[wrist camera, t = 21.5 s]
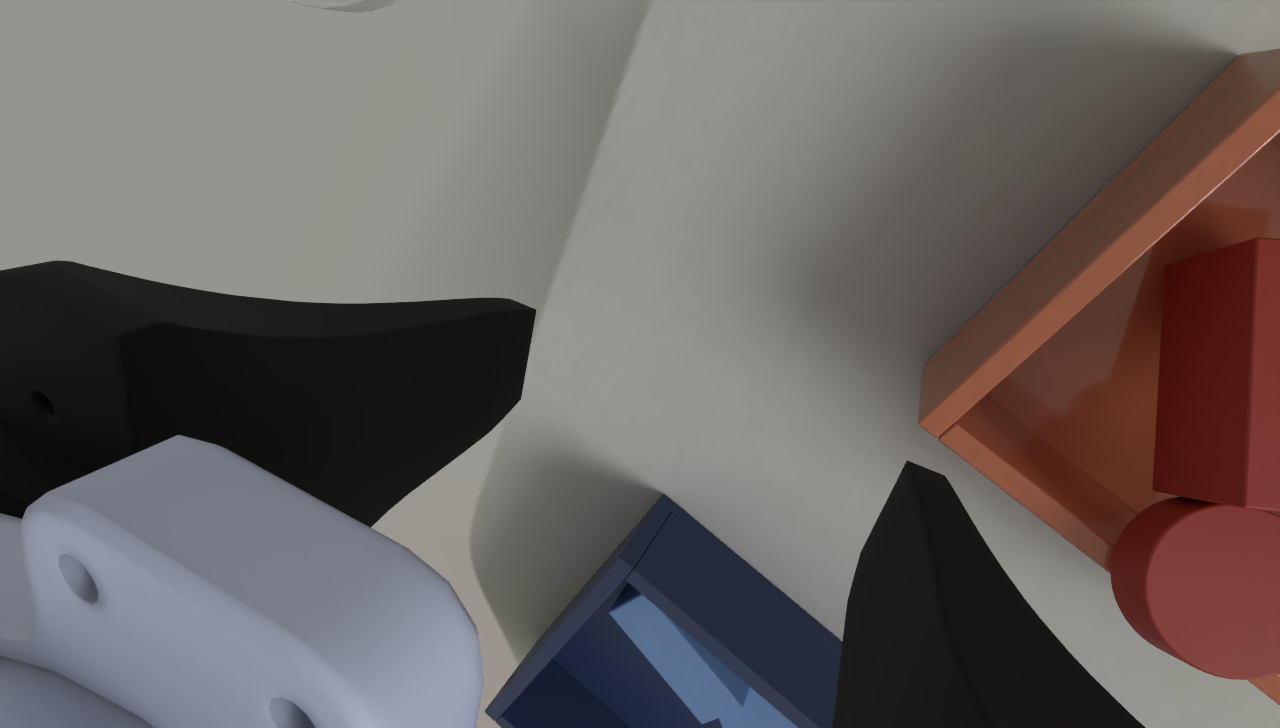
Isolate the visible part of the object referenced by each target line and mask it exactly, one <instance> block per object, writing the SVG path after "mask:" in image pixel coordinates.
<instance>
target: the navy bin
mask: <svg viewBox="0 0 1280 728" xmlns="http://www.w3.org/2000/svg"><path fill="white" fill-rule="evenodd" d="M627 583H629V584H631V585H632V586H633V587H634V588H635V589H636V590H638V591H639V592H640V593H641V594H642V595H643V596H645V597H646V598H647V599H648V600H649V601H650V602H652V603H653V604H654V605H655V606H656V607H658V608H659V609H660V610H661V611H662V612H663V613H665V614H666V615H667V616H668V617H669V618H670V619H672V620H673V621H674V622H675V623H676V624H677V625H679V626H680V627H681V628H682V629H683V630H684V631H686V632H687V633H688V634H689V635H690V636H691V637H693V638H694V639H695V640H696V641H697V642H698V643H700V644H701V645H702V646H703V647H704V648H705V649H707V650H708V651H709V652H710V653H711V654H712V655H714V656H715V657H716V658H717V659H718V660H719V661H721V662H722V663H723V664H724V665H725V666H726V667H728V668H729V669H730V670H731V671H732V672H733V673H735V674H736V675H737V676H738V677H739V678H740V679H742V680H743V681H744V682H745V683H746V684H747V685H749V686H750V687H751V688H752V689H753V690H754V691H756V692H757V693H758V694H759V695H760V696H761V697H763V698H764V699H765V700H766V701H767V702H768V703H770V704H771V705H772V706H773V707H774V708H775V709H777V710H778V711H779V712H780V713H781V714H782V715H784V716H785V717H786V718H787V719H788V720H790V721H791V722H792V723H793V724H794V725H795V726H797V727H798V728H832V725H833V719H834V711H835V703H836V694H837V686H838V677H839V669H840V660H841V651H842V642H841V641H840V640H839V639H838V638H836V637H835V636H834V635H833V634H832V633H830V632H829V631H828V630H827V629H826V628H824V627H823V626H822V625H821V624H820V623H818V622H817V621H816V620H815V619H814V618H812V617H811V616H810V615H809V614H808V613H806V612H805V611H804V610H803V609H801V608H800V607H799V606H798V605H797V604H795V603H794V602H793V601H792V600H791V599H789V598H788V597H787V596H786V595H785V594H783V593H782V592H781V591H780V590H779V589H777V588H776V587H775V586H774V585H773V584H771V583H770V582H769V581H768V580H767V579H765V578H764V577H763V576H762V575H761V574H759V573H758V572H757V571H756V570H755V569H753V568H752V567H751V566H750V565H749V564H747V563H746V562H745V561H744V560H743V559H741V558H740V557H739V556H738V555H737V554H735V553H734V552H733V551H732V550H731V549H729V548H728V547H727V546H726V545H725V544H723V543H722V542H721V541H720V540H719V539H717V538H716V537H715V536H714V535H713V534H711V533H710V532H709V531H708V530H707V529H705V528H704V527H703V526H702V525H701V524H699V523H698V522H697V521H696V520H695V519H693V518H692V517H691V516H690V515H689V514H687V513H686V512H685V511H684V510H682V509H681V508H680V507H679V506H678V505H676V504H675V503H674V502H673V501H672V500H670V499H669V498H668V497H667V496H666V495H662V496H661V497H660V499H659V500H658V501H657V502H656V503H655V504H654V506H653V507H652V508H651V509H650V510H649V511H648V513H647V514H646V515H645V516H644V517H643V518H642V520H641V521H640V522H639V523H638V524H637V525H636V527H635V528H634V529H633V530H632V531H631V532H630V534H629V535H628V536H627V537H626V538H625V539H624V541H623V542H622V543H621V544H620V545H619V546H618V548H617V549H616V550H615V551H614V552H613V553H612V555H611V556H610V557H609V558H608V559H607V561H606V562H605V563H604V564H603V565H602V566H601V568H600V569H599V570H598V571H597V572H596V573H595V575H594V576H593V577H592V578H591V579H590V580H589V582H588V583H587V584H586V585H585V586H584V587H583V589H582V590H581V591H580V592H579V593H578V594H577V596H576V597H575V598H574V599H573V600H572V601H571V603H570V604H569V605H568V606H567V607H566V608H565V610H564V611H563V612H562V613H561V614H560V615H559V617H558V618H557V619H556V620H555V621H554V622H553V624H552V625H551V626H550V627H549V628H548V629H547V631H546V632H545V633H544V634H543V635H542V636H541V638H540V639H539V640H538V641H537V642H536V643H535V645H534V646H533V647H532V649H531V650H530V651H529V653H528V654H527V655H526V657H525V658H524V659H523V661H522V662H521V663H520V665H519V666H518V667H517V669H516V670H515V671H514V673H513V674H512V675H511V677H510V678H509V679H508V681H507V682H506V683H505V685H504V686H503V687H502V689H501V690H500V691H499V693H498V694H497V695H496V697H495V698H494V699H493V701H492V702H491V703H490V704H489V706H488V707H487V709H486V710H485V713H486V714H487V715H488V716H490V717H491V718H492V719H493V720H494V721H496V723H497V724H498V725H499V726H500V727H501V728H722V726H721V723H720V721H719V718H717V719H715V720H712V721H709V722H707V723H704V724H702V723H700V722H699V720H698V719H697V718H696V717H695V716H694V714H693V713H692V712H691V711H690V710H689V708H688V707H687V706H686V705H685V704H684V702H683V701H682V700H681V699H680V698H679V696H678V695H677V694H676V693H675V692H674V690H673V689H672V688H671V687H670V686H669V684H668V683H667V682H666V681H665V680H664V679H663V677H662V676H661V675H660V674H659V673H658V671H657V670H656V669H655V668H654V667H653V665H652V664H651V663H650V662H649V661H648V659H647V658H646V657H645V656H644V655H643V653H642V652H641V651H640V650H639V649H638V647H637V646H636V645H635V644H634V643H633V641H632V640H631V639H630V638H629V637H628V635H627V634H626V633H625V632H624V631H623V629H622V628H621V627H620V626H619V625H618V623H617V622H616V621H615V620H614V619H613V617H612V616H611V615H610V614H609V610H610V609H611V607H612V606H613V604H614V603H615V601H616V600H617V598H618V597H619V595H620V594H621V592H622V591H623V589H624V588H625V586H626V585H627Z"/></svg>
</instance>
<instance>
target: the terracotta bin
mask: <svg viewBox="0 0 1280 728" xmlns="http://www.w3.org/2000/svg"><path fill="white" fill-rule="evenodd" d="M1257 237H1261V238H1275V239H1280V48H1279V49H1273V50H1266V51H1259V52H1253V53H1245V54H1241V55H1239V56H1238V57H1237V58H1236V59H1235V60H1234V61H1233V62H1232V63H1231V64H1230V65H1229V66H1228V67H1227V68H1226V69H1225V70H1224V71H1223V72H1222V73H1221V74H1219V75H1218V76H1217V77H1216V78H1215V79H1214V80H1213V81H1212V82H1211V83H1210V84H1209V85H1208V86H1207V87H1206V88H1205V89H1204V90H1203V91H1202V92H1201V93H1200V94H1199V95H1198V96H1197V97H1196V98H1195V99H1194V100H1193V101H1192V102H1191V103H1190V104H1189V105H1188V106H1187V107H1186V108H1185V109H1184V110H1183V111H1182V112H1181V113H1180V114H1179V115H1178V116H1177V117H1176V118H1175V119H1174V120H1173V121H1172V122H1171V123H1170V124H1169V125H1168V126H1167V127H1166V128H1165V129H1163V130H1162V131H1161V132H1160V133H1159V134H1158V135H1157V136H1156V137H1155V138H1154V139H1153V140H1152V141H1151V142H1150V143H1149V144H1148V145H1147V146H1146V147H1145V148H1144V149H1143V150H1142V151H1141V152H1140V153H1139V154H1138V155H1137V156H1136V157H1135V158H1134V159H1133V160H1132V161H1131V162H1130V163H1129V164H1128V165H1127V166H1126V167H1125V168H1124V169H1123V170H1122V171H1121V172H1120V173H1119V174H1118V175H1117V176H1116V177H1115V178H1114V179H1113V180H1112V181H1111V182H1110V183H1109V184H1107V185H1106V186H1105V187H1104V188H1103V189H1102V190H1101V191H1100V192H1099V193H1098V194H1097V195H1096V196H1095V197H1094V198H1093V199H1092V200H1091V201H1090V202H1089V203H1088V204H1087V205H1086V206H1085V207H1084V208H1083V209H1082V210H1081V211H1080V212H1079V213H1078V214H1077V215H1076V216H1075V217H1074V218H1073V219H1072V220H1071V221H1070V222H1069V223H1068V224H1067V225H1066V226H1065V227H1064V228H1063V229H1062V230H1061V231H1060V232H1059V233H1058V234H1057V235H1056V236H1055V237H1054V238H1053V239H1051V240H1050V241H1049V242H1048V243H1047V244H1046V245H1045V246H1044V247H1043V248H1042V249H1041V250H1040V251H1039V252H1038V253H1037V254H1036V255H1035V256H1034V257H1033V258H1032V259H1031V260H1030V261H1029V262H1028V263H1027V264H1026V265H1025V266H1024V267H1023V268H1022V269H1021V270H1020V271H1019V272H1018V273H1017V274H1016V275H1015V276H1014V277H1013V278H1012V279H1011V280H1010V281H1009V282H1008V283H1007V284H1006V285H1005V286H1004V287H1003V288H1002V289H1001V290H1000V291H999V292H998V293H997V294H995V295H994V296H993V297H992V298H991V299H990V300H989V301H988V302H987V303H986V304H985V305H984V306H983V307H982V308H981V309H980V310H979V311H978V312H977V313H976V314H975V315H974V316H973V317H972V318H971V319H970V320H969V321H968V322H967V323H966V324H965V325H964V326H963V327H962V328H961V329H960V330H959V331H958V332H957V333H956V334H955V335H954V336H953V337H952V338H951V339H950V340H949V341H948V342H947V343H946V344H945V345H944V346H943V347H942V348H941V349H939V350H938V351H937V352H936V353H935V354H934V355H933V356H932V357H931V358H930V359H929V360H928V361H927V362H926V363H925V364H924V365H923V367H922V378H921V389H920V401H919V412H918V424H919V425H920V426H921V427H922V428H924V429H925V430H926V431H928V432H929V433H930V434H931V435H933V436H934V437H936V438H937V437H938V439H939V441H941V442H942V443H943V444H944V445H946V446H947V447H948V448H950V449H951V450H952V451H953V452H955V453H956V454H957V455H959V456H960V457H961V458H962V459H964V460H965V461H966V462H968V463H969V464H970V465H971V466H973V467H974V468H975V469H977V470H978V471H979V472H980V473H982V474H983V475H984V476H986V477H987V478H988V479H989V480H991V481H992V482H993V483H995V484H996V485H997V486H998V487H1000V488H1001V489H1002V490H1004V491H1005V492H1006V493H1007V494H1009V495H1010V496H1011V497H1013V498H1014V499H1015V500H1016V501H1018V502H1019V503H1020V504H1022V505H1023V506H1024V507H1025V508H1027V509H1028V510H1029V511H1031V512H1032V513H1033V514H1034V515H1036V516H1037V517H1038V518H1040V519H1041V520H1042V521H1043V522H1045V523H1046V524H1047V525H1049V526H1050V527H1051V528H1052V529H1054V530H1055V531H1056V532H1058V533H1059V534H1060V535H1061V536H1063V537H1064V538H1065V539H1067V540H1068V541H1069V542H1070V543H1072V544H1073V545H1074V546H1076V547H1077V548H1078V549H1079V550H1081V551H1082V552H1083V553H1085V554H1086V555H1087V556H1088V557H1090V558H1091V559H1092V560H1094V561H1095V562H1096V563H1097V564H1099V565H1100V566H1101V567H1103V568H1104V569H1105V570H1106V571H1108V572H1109V573H1110V574H1111V560H1112V555H1113V551H1114V548H1115V545H1116V543H1117V540H1118V538H1119V536H1120V535H1121V533H1122V531H1123V530H1124V528H1125V527H1126V526H1127V525H1128V523H1129V522H1130V521H1131V520H1132V519H1133V518H1134V517H1135V516H1136V515H1137V514H1139V513H1140V512H1141V511H1143V510H1144V509H1146V508H1147V507H1149V506H1151V505H1153V504H1155V503H1157V502H1160V501H1163V500H1165V499H1169V498H1174V497H1178V496H1177V495H1172V494H1166V493H1161V492H1156V491H1154V490H1153V489H1152V487H1153V469H1154V450H1155V432H1156V413H1157V395H1158V376H1159V358H1160V340H1161V321H1162V303H1163V284H1164V267H1165V265H1167V264H1170V263H1174V262H1177V261H1180V260H1184V259H1187V258H1190V257H1194V256H1197V255H1200V254H1204V253H1207V252H1210V251H1214V250H1217V249H1220V248H1224V247H1227V246H1230V245H1234V244H1237V243H1240V242H1244V241H1247V240H1250V239H1254V238H1257ZM1270 512H1272V513H1274V514H1276V515H1278V516H1280V512H1277V511H1270ZM1247 680H1248V681H1249V682H1250V683H1252V684H1253V685H1254V686H1256V687H1257V688H1258V689H1259V690H1261V691H1262V692H1263V693H1265V694H1266V695H1267V696H1268V697H1270V698H1271V699H1272V700H1274V701H1275V702H1276V703H1277V704H1279V705H1280V673H1277V674H1274V675H1271V676H1268V677H1263V678H1258V679H1247Z"/></svg>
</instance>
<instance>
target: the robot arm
mask: <svg viewBox="0 0 1280 728" xmlns="http://www.w3.org/2000/svg"><path fill="white" fill-rule="evenodd" d="M535 315H536V309H533V308H531V307H528V306H526V305H524V304H521V303H519V302H516V301H514V300H511V299H505V298H468V299H451V300H436V301H420V302H396V303H368V304H333V303H309V302H293V301H282V300H273V299H264V298H253V297H245V296H236V295H228V294H222V293H215V292H209V291H202V290H197V289H191V288H186V287H180V286H174V285H169V284H164V283H159V282H154V281H150V280H145V279H141V278H137V277H133V276H128V275H124V274H120V273H115V272H111V271H107V270H103V269H99V268H94V267H90V266H86V265H83V264H79V263H75V262H70V261H50V262H45V263H39V264H34V265H28V266H23V267H17V268H12V269H7V270H1V271H0V728H476V721H477V716H478V711H479V705H480V700H481V694H482V689H483V684H484V677H483V669H482V662H481V655H480V646H479V638H478V632H477V629H476V625H475V624H474V622H473V620H472V619H471V617H470V615H469V614H468V612H467V611H466V609H465V607H464V606H463V604H462V602H461V601H460V599H459V597H458V596H457V594H456V593H455V591H454V589H453V588H452V586H451V584H450V583H449V582H448V581H447V580H446V579H445V578H444V577H442V576H441V575H440V574H439V573H438V572H436V571H435V570H434V569H433V568H431V567H430V566H429V565H428V564H427V563H425V562H424V561H423V560H422V559H420V558H419V557H418V556H416V555H415V554H414V553H413V552H412V551H411V550H409V549H408V548H406V547H405V546H403V545H401V544H399V543H397V542H395V541H393V540H392V539H390V538H388V537H386V536H385V535H383V534H381V533H379V532H377V531H375V530H374V529H372V528H371V527H372V526H373V525H374V524H375V523H376V522H377V521H378V520H379V519H380V518H381V517H382V516H383V515H384V514H385V513H386V512H387V511H388V510H390V509H391V508H392V507H393V506H394V505H395V504H397V503H398V502H399V501H400V500H402V499H403V498H404V497H405V496H406V495H408V494H409V493H410V492H411V491H413V490H414V489H416V488H417V487H418V486H419V485H421V484H422V483H423V482H425V481H426V480H427V479H429V478H430V477H431V476H433V475H434V474H435V473H437V472H438V471H439V470H441V469H442V468H443V467H444V466H446V465H447V464H449V463H450V462H451V461H453V460H454V459H455V458H457V457H458V456H459V455H461V454H462V453H463V452H465V451H466V450H467V449H468V448H470V447H471V446H472V445H474V444H475V443H476V442H477V441H479V440H480V439H481V438H482V437H484V436H485V435H486V434H488V433H489V432H490V431H491V430H492V429H493V428H494V427H495V426H496V425H497V424H498V423H499V422H500V421H501V420H502V419H503V418H504V417H505V416H506V415H507V414H508V413H509V412H510V411H511V409H512V408H513V407H514V406H515V405H516V404H517V403H518V402H519V401H520V400H521V395H522V390H523V384H524V378H525V372H526V367H527V361H528V355H529V349H530V344H531V338H532V332H533V326H534V320H535ZM832 728H1145V727H1144V726H1143V725H1142V724H1141V723H1140V722H1139V721H1138V720H1136V719H1135V718H1134V717H1133V716H1132V715H1131V714H1130V713H1129V712H1128V711H1127V710H1126V709H1125V708H1124V707H1123V706H1122V705H1121V704H1120V703H1119V702H1118V701H1117V700H1116V699H1115V698H1114V697H1113V696H1112V695H1111V694H1110V693H1109V692H1108V691H1107V690H1106V689H1104V688H1103V687H1102V686H1101V685H1100V684H1099V683H1098V682H1097V681H1096V680H1095V679H1094V678H1093V677H1092V676H1091V675H1090V674H1089V673H1088V672H1087V670H1086V669H1085V668H1084V667H1083V666H1082V665H1081V664H1080V663H1079V662H1078V661H1077V660H1076V659H1075V658H1074V657H1073V656H1072V655H1071V653H1070V652H1069V651H1068V650H1067V649H1066V648H1065V647H1064V645H1063V644H1062V643H1061V642H1060V641H1059V640H1058V639H1057V637H1056V636H1055V635H1054V634H1053V633H1052V632H1051V630H1050V629H1049V628H1048V627H1047V626H1046V625H1045V623H1044V622H1043V621H1042V620H1041V619H1040V618H1039V616H1038V615H1037V614H1036V613H1035V611H1034V610H1033V609H1032V608H1031V606H1030V605H1029V604H1028V603H1027V601H1026V600H1025V599H1024V597H1023V596H1022V595H1021V593H1020V592H1019V590H1018V589H1017V588H1016V586H1015V585H1014V584H1013V582H1012V581H1011V579H1010V578H1009V577H1008V575H1007V574H1006V573H1005V571H1004V570H1003V568H1002V567H1001V565H1000V564H999V562H998V561H997V559H996V558H995V556H994V555H993V553H992V552H991V550H990V549H989V547H988V546H987V544H986V543H985V541H984V539H983V538H982V536H981V535H980V533H979V531H978V530H977V528H976V526H975V525H974V523H973V522H972V520H971V518H970V516H969V515H968V513H967V511H966V510H965V508H964V506H963V505H962V503H961V501H960V499H959V498H958V496H957V494H956V493H955V491H954V489H953V488H952V486H951V484H950V483H949V481H948V480H947V478H946V477H945V476H944V475H942V474H939V473H937V472H934V471H932V470H929V469H927V468H924V467H922V466H919V465H917V464H914V463H912V462H910V461H907V462H906V464H905V466H904V468H903V470H902V472H901V474H900V476H899V478H898V480H897V482H896V484H895V486H894V488H893V489H892V491H891V493H890V495H889V497H888V499H887V501H886V503H885V505H884V507H883V509H882V511H881V513H880V515H879V517H878V519H877V521H876V523H875V525H874V527H873V529H872V531H871V533H870V535H869V537H868V539H867V541H866V543H865V545H864V547H863V549H862V551H861V553H860V557H859V561H858V564H857V568H856V571H855V575H854V579H853V583H852V586H851V590H850V594H849V598H848V603H847V611H846V618H845V627H844V635H843V643H842V651H841V660H840V669H839V677H838V686H837V694H836V703H835V711H834V719H833V725H832Z"/></svg>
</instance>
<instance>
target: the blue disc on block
mask: <svg viewBox="0 0 1280 728" xmlns="http://www.w3.org/2000/svg"><path fill="white" fill-rule="evenodd" d="M609 614H610V615H611V616H612V617H613V619H614V620H615V621H616V622H617V623H618V625H619V626H620V627H621V628H622V629H623V631H624V632H625V633H626V634H627V635H628V637H629V638H630V639H631V640H632V641H633V643H634V644H635V645H636V646H637V647H638V649H639V650H640V651H641V652H642V653H643V655H644V656H645V657H646V658H647V659H648V661H649V662H650V663H651V664H652V665H653V667H654V668H655V669H656V670H657V671H658V673H659V674H660V675H661V676H662V677H663V679H664V680H665V681H666V682H667V683H668V684H669V686H670V687H671V688H672V689H673V690H674V692H675V693H676V694H677V695H678V696H679V698H680V699H681V700H682V701H683V702H684V704H685V705H686V706H687V707H688V708H689V710H690V711H691V712H692V713H693V714H694V716H695V717H696V718H697V719H698V720H699V722H700V723H702V724H704V723H707V722H709V721H712V720H715V719H717V718H719V721H720V723H721V726H722V728H798V727H797V726H795V725H794V724H793V723H792V722H791V721H790V720H788V719H787V718H786V717H785V716H784V715H782V714H781V713H780V712H779V711H778V710H777V709H775V708H774V707H773V706H772V705H771V704H770V703H768V702H767V701H766V700H765V699H764V698H763V697H761V696H760V695H759V694H758V693H757V692H756V691H754V690H753V689H752V688H751V687H750V686H749V685H747V684H746V683H745V682H744V681H743V680H742V679H740V678H739V677H738V676H737V675H736V674H735V673H733V672H732V671H731V670H730V669H729V668H728V667H726V666H725V665H724V664H723V663H722V662H721V661H719V660H718V659H717V658H716V657H715V656H714V655H712V654H711V653H710V652H709V651H708V650H707V649H705V648H704V647H703V646H702V645H701V644H700V643H698V642H697V641H696V640H695V639H694V638H693V637H691V636H690V635H689V634H688V633H687V632H686V631H684V630H683V629H682V628H681V627H680V626H679V625H677V624H676V623H675V622H674V621H673V620H672V619H670V618H669V617H668V616H667V615H666V614H665V613H663V612H662V611H661V610H660V609H659V608H658V607H656V606H655V605H654V604H653V603H652V602H650V601H649V600H648V599H647V598H646V597H645V596H643V595H642V594H641V593H640V592H639V591H638V590H636V589H635V588H634V587H633V586H632V585H631V584H629V583H627V585H626V586H625V588H624V589H623V591H622V592H621V594H620V595H619V597H618V598H617V600H616V601H615V603H614V604H613V606H612V607H611V609H610V610H609Z"/></svg>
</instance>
